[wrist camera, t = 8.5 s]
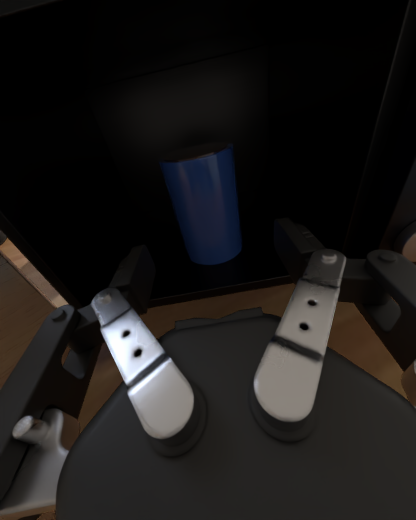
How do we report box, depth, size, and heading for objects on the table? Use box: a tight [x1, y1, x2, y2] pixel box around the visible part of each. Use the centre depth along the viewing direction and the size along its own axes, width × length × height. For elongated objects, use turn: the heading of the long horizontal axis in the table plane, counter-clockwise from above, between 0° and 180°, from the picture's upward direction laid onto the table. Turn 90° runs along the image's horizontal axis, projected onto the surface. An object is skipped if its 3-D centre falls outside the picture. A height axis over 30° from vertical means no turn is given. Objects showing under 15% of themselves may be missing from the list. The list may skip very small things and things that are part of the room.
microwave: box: [0, 0, 416, 310], centre depth 20 cm, size 24×30×19 cm
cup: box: [159, 142, 243, 265], centre depth 20 cm, size 6×6×10 cm
